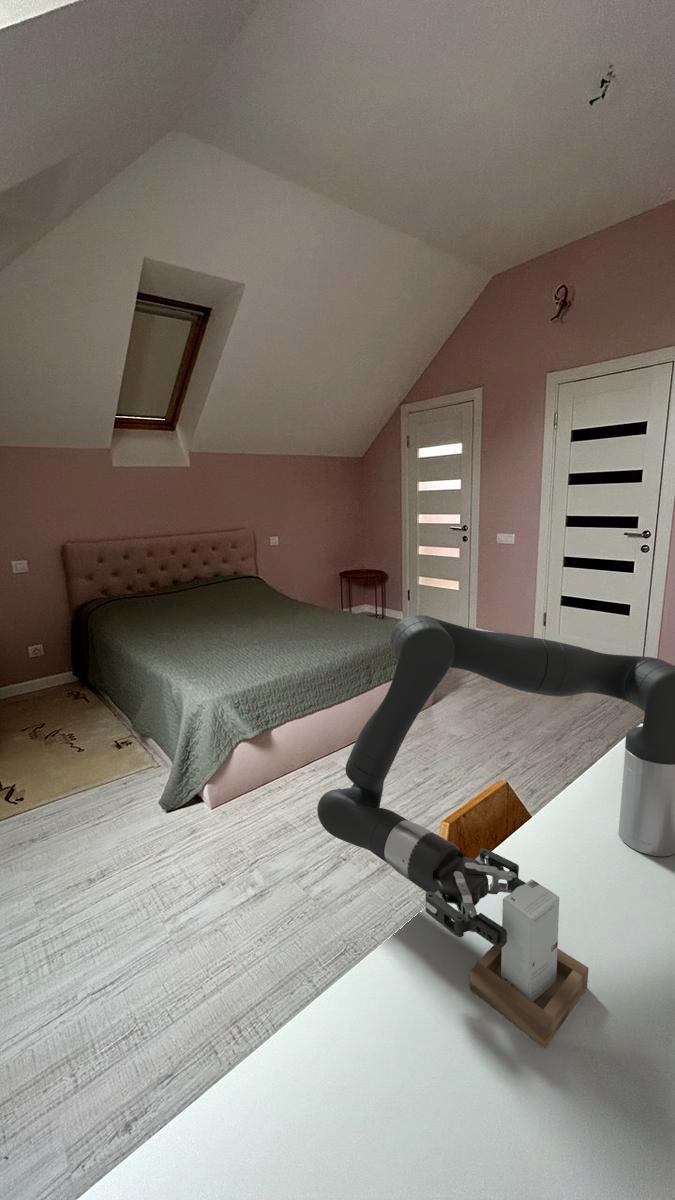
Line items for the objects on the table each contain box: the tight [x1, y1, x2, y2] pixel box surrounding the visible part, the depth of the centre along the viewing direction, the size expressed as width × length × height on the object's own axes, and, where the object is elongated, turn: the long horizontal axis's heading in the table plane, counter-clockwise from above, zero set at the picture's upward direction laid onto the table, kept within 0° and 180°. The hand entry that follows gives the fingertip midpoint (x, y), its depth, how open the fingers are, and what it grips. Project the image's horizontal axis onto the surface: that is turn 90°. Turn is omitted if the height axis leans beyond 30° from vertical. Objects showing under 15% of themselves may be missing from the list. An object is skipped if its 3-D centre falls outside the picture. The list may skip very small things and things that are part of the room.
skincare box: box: [501, 879, 560, 1002], centre depth 65 cm, size 6×4×12 cm
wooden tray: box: [469, 944, 590, 1050], centre depth 65 cm, size 11×10×3 cm
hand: (523, 919), depth 65 cm, fingers open, 8 cm apart
